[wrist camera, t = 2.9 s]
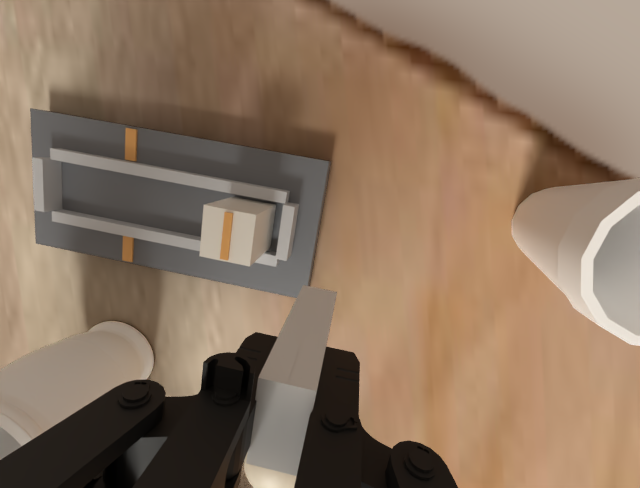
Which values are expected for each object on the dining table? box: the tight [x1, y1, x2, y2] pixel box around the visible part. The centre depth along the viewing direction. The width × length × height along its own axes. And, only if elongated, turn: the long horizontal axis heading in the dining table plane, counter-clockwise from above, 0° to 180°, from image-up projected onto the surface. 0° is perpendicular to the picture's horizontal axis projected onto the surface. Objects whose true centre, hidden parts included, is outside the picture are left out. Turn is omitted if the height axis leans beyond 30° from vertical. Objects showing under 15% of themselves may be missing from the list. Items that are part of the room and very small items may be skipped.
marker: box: [122, 128, 138, 262], centre depth 33 cm, size 13×1×1 cm, turn 170°
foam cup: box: [511, 177, 640, 346], centre depth 24 cm, size 10×9×13 cm
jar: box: [0, 321, 154, 460], centre depth 32 cm, size 11×10×15 cm
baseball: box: [244, 452, 296, 488], centre depth 36 cm, size 7×7×7 cm
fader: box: [199, 197, 276, 267], centre depth 29 cm, size 4×4×6 cm
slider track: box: [30, 108, 331, 298], centre depth 32 cm, size 13×28×4 cm, turn 80°
